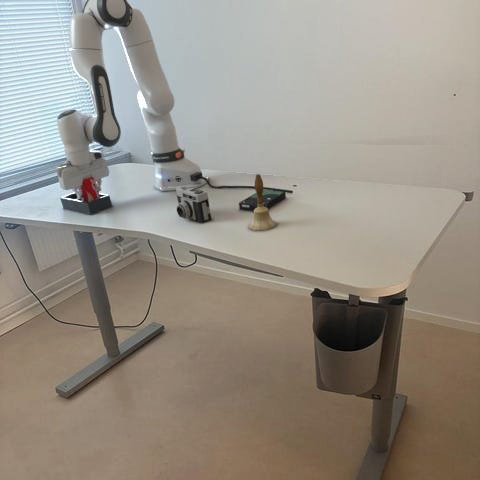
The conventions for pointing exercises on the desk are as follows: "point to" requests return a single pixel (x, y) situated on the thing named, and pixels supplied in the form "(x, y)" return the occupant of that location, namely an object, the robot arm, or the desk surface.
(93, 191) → the soda can
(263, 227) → the hand bell
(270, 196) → the disk drive
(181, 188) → the camera
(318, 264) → the desk surface
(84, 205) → the open box
